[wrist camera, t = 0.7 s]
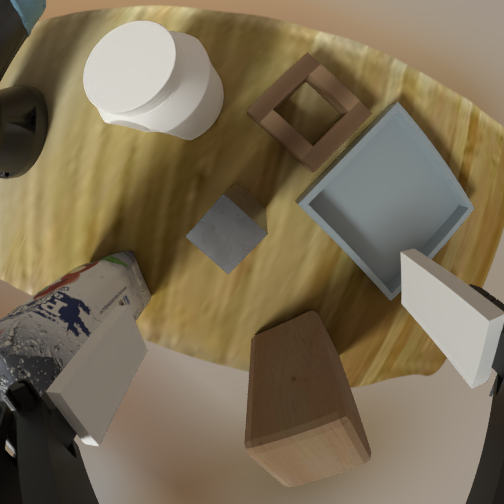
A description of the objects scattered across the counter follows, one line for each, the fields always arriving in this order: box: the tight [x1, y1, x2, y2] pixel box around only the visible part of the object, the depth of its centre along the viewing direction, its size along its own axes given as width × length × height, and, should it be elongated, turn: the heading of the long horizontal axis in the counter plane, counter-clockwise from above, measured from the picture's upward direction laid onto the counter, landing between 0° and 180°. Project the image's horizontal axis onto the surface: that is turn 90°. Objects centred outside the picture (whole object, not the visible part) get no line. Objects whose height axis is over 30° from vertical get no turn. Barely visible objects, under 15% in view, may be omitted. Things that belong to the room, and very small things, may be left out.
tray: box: [295, 102, 474, 301], centre depth 33 cm, size 18×18×3 cm
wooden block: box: [245, 310, 371, 487], centre depth 31 cm, size 10×10×20 cm
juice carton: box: [0, 251, 151, 411], centre depth 26 cm, size 9×10×27 cm
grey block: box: [186, 183, 268, 274], centre depth 29 cm, size 4×4×14 cm
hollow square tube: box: [247, 53, 372, 172], centre depth 31 cm, size 10×10×3 cm
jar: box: [83, 20, 224, 140], centre depth 25 cm, size 12×10×15 cm
